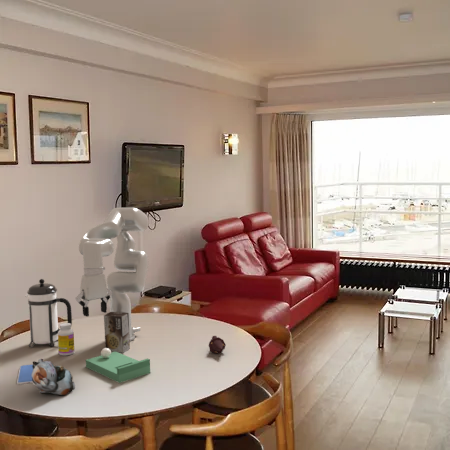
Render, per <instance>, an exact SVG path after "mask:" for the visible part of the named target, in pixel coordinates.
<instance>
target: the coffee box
mask: <svg viewBox="0 0 450 450" xmlns="http://www.w3.org/2000/svg"><path fill="white" fill-rule="evenodd" d="M103 325H104V342H105V344H104V345H105V347H104V348H108V349H110V351H111V353H112V352H115V351H116V352H118V353H125V352H127V351H128V350H130V349H131V341H130V338H129V313H123V312H110V311H109V312H106V313H105V314H104V315H103Z"/></svg>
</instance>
